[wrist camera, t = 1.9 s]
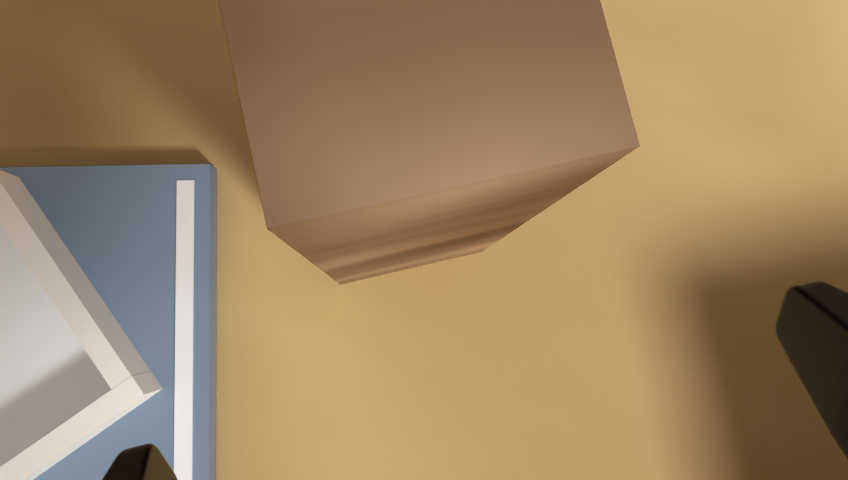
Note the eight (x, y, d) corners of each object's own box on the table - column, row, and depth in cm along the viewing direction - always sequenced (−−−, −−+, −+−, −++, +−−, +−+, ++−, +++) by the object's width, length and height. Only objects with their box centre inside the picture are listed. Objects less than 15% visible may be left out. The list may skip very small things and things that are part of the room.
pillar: (481, 251, 21) (640, 145, 8) (340, 284, 21) (267, 228, 8) (448, 115, 21) (546, -195, 8) (309, 144, 21) (189, -133, 8)
